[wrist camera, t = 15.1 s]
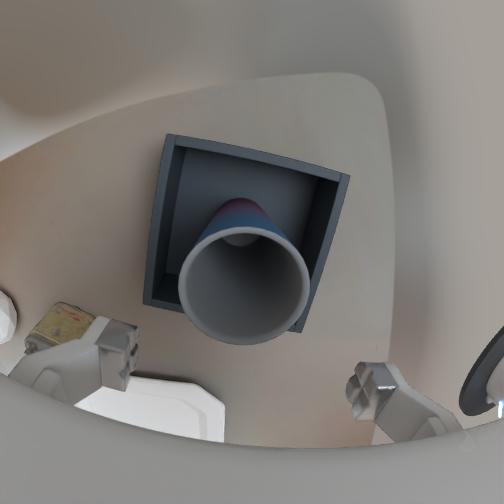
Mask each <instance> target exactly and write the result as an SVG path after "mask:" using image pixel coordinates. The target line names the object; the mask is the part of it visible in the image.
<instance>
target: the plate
mask: <svg viewBox="0 0 504 504" xmlns="http://www.w3.org/2000/svg"><path fill="white" fill-rule="evenodd" d="M74 406H75V407H78V408H81V409H84V410H86V411H89V412H92V413H95V414H98V415H101V416H104V417H108V418H111V419H114V420H117V421H121V422H124V423H128V424H132V425H135V426H139V427H143V428H147V429H151V430H155V431H160V432H164V433H169V434H174V435H179V436H184V437H190V438H195V439H201V440H208V441H215V442H222V443H224V428H225V406H224V404H223V403H222V402H221V401H220V400H218V399H217V398H215V397H214V396H213V395H211V394H210V393H209V392H207V391H206V390H204V389H203V388H202V387H200V386H199V385H197V384H194V383H185V382H175V381H166V380H158V379H150V378H143V377H136V376H130V381H129V384H128V386H127V389H126V391H125V392H122V391H118V390H115V389H111V388H107V387H104V386H102V388H100V389H98V390H97V391H95V392H94V393H92V394H91V395H89V396H88V397H86V398H84V399H83V400H81V401H80V402H78V403H77V404H75V405H74Z"/></svg>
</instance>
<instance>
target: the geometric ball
mask: <svg viewBox="0 0 504 504" xmlns="http://www.w3.org/2000/svg"><path fill="white" fill-rule="evenodd" d="M16 321H17V313H16V310H15V308H14V305H13V303H12V300H11V299H10V298H9V297H7V296H6V295H5V294H4V293H3V292H2V291H0V344H3V343H5V342H7V341H9V340H11V338H12V335H13V333H14V331H15V328H16Z"/></svg>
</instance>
